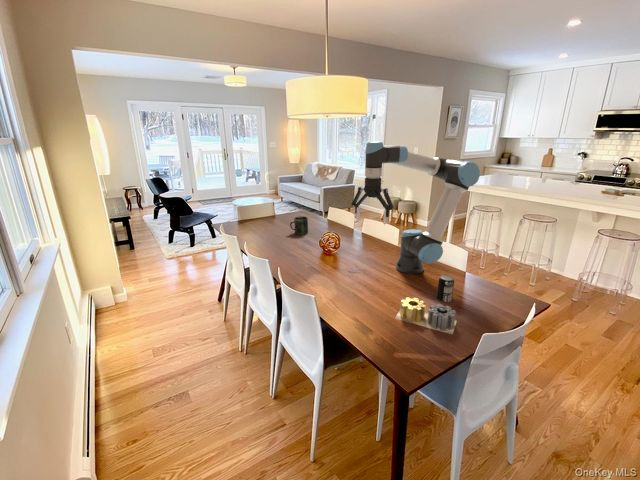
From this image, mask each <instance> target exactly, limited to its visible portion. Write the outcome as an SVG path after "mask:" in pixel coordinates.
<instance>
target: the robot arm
mask: <svg viewBox="0 0 640 480" xmlns="http://www.w3.org/2000/svg"><path fill="white" fill-rule="evenodd" d="M364 154H365V161H364V162H365V167H364V176H365V177H364V187H363V185H361V186H357V187H358V188H357V192H356V194H355V196H354V198H353V199H352V202H351V203H350V204H351V206H353V207H354V208H355V209H354V213H355V214H356V221H357V222H359V221H360V220H361V204H362V203H363V202H364V201H365V200H366V199H367V197H368V198H373V199H377V200H378V201H379V202H380V204H381V205H382V207H383V208H384V211H383V222H382V223H383V225H386V224H388V218H389V217H390V211H392V210H393V209H394V208H395V206H394V203H393V202H392V200H391V196H390V194H389V189H388V188H387V187H386V188H382V176H383V174H382V173H383V164H394V165H397V166H401V167H404V168H409V169H412V170H417V171H420V172H424V173H427V174H428V175H429V176H431V177H434V178H437V179H439V180H442V181H444V182H443V183H444V186H445V188H444V189H443V192H442V194H441V195H440V199H439V201H438V202H437V205H436V208H435V209H434V212H433V213H432V216H431V218H430V220H429V222H428V225H427V227H426V230H424V231H423V230H421V229H404V230H403V231H402V232H401V237H400V240H401V241H400V249H399V250H400V253H399V254H400V255H399V257H398V259H397V261H396V264H395V268H396V270H397V271H399V272H400V273H403V274H409V275H416V274H417V275H418V274H420V273H422V272H423V271H424V264H429V265H431V264H434V263H436V262H438V261H439V260H440V259H441V257H443V253H444V250H443V246H442V245H443V242H444V240H443V236H444V233H445V231H446V230H447V227H448V225H449V223H450V221H451V218H452V217H453V214H454V212H455V210H456V208H457V207H458V204H459V202H460V200H461V197H462V196H463V194H464V193H466V192H468V190H469V188H470V187H473V186H474V185H476V184H477V183H478V181H479V180H480V176H481V172H480V167H479V165H478V164H477V163H476V162H473V161H470V160H466V159H465V160H463V159H455V158H441V157H438V156H437V157H436V156H435V157H429V156H427V155H426V156H425V155H422V154H419V153H414V152H410V151H408V148H407V146H406V145H401V144H400V145H389V144H384V142H383V141H367V143H366V145H365V153H364ZM362 192H364V194H363V195H362ZM381 193H382V194H383V195H382V194H381ZM361 195H362V197H360V196H361Z"/></svg>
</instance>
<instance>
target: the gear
mask: <svg viewBox="0 0 640 480" xmlns="http://www.w3.org/2000/svg"><path fill="white" fill-rule="evenodd" d="M427 313H428V324H431V327H433V328H434V329H436V328H440V330H441V331H446V329H449V330H451V329H453V326H454V322H455V320H456V314H457V313H456V310H455V309H452V307H451V306H449V305H443V304H441V303H437V304H436V305H434V304H432V305H430V306H429V308H428V312H427ZM434 329H433V330H434ZM441 331H440V332H441Z"/></svg>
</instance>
